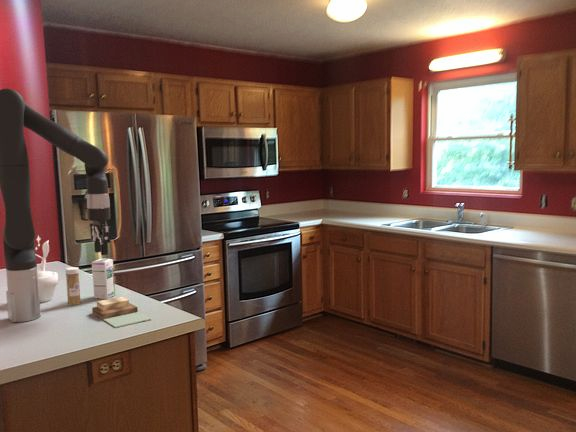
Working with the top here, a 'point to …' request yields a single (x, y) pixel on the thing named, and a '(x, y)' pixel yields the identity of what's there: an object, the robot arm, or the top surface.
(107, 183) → the robot arm
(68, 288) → the sprinkles bottle
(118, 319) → the rubber mat
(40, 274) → the potted plant
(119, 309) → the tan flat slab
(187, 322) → the top surface
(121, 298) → the maple tile
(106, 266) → the syrup box
